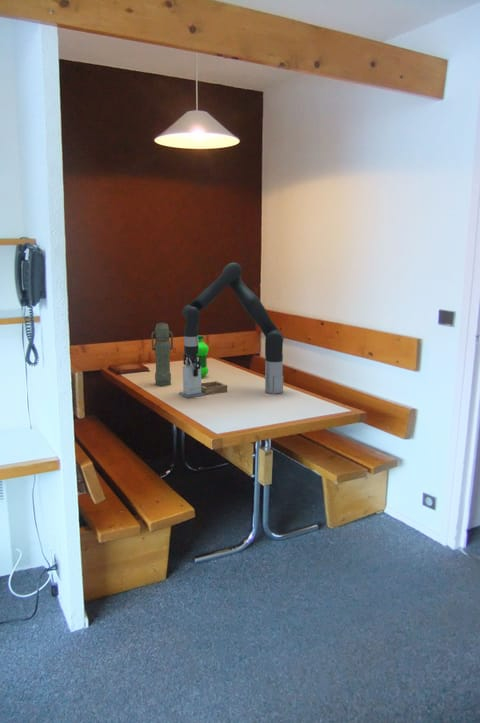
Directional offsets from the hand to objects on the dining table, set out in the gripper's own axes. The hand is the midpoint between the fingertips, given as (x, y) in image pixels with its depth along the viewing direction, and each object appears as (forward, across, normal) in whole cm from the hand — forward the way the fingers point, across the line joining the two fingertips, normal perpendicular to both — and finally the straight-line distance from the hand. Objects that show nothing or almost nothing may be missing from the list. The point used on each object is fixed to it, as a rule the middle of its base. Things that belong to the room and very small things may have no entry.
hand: (191, 375), depth 302 cm
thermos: (+11, +29, +3) cm, 31 cm away
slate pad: (+11, 0, 0) cm, 11 cm away
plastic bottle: (+11, +35, -24) cm, 44 cm away
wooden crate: (+11, +2, -13) cm, 17 cm away
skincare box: (+10, 0, 0) cm, 10 cm away
